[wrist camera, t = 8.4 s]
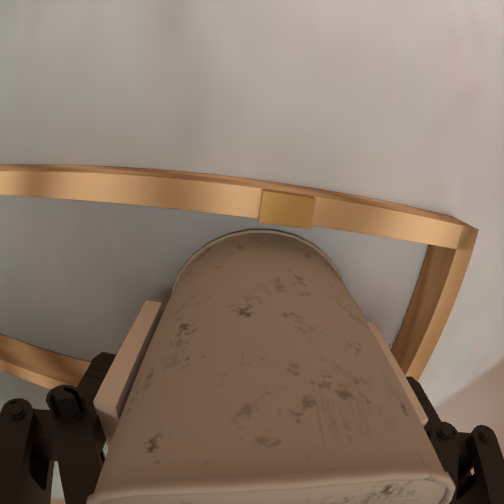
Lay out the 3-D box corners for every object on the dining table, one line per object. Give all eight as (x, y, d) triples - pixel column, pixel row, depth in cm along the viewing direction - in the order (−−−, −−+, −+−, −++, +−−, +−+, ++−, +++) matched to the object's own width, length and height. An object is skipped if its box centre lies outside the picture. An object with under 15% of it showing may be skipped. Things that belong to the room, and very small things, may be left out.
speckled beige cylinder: (357, 354, 18) (428, 534, 6) (210, 392, 19) (190, 574, 7) (325, 203, 15) (503, 392, 3) (141, 262, 15) (7, 467, 4)
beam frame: (-1, 344, 18) (-20, 366, 15) (-31, 166, 13) (-63, 175, 10) (380, 402, 20) (393, 432, 17) (452, 216, 15) (485, 233, 12)
